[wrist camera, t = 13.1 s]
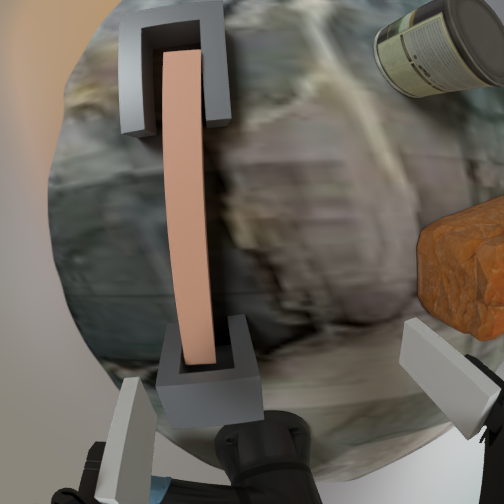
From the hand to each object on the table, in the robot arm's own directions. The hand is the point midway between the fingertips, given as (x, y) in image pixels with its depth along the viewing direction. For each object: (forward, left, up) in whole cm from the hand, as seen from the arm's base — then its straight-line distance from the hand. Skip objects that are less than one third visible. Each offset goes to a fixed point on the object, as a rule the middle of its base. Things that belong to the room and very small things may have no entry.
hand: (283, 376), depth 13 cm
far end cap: (-11, +5, -20) cm, 23 cm away
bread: (-4, -36, -20) cm, 42 cm away
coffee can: (+22, -22, -20) cm, 37 cm away
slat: (+5, +4, -20) cm, 21 cm away
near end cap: (+19, +5, -20) cm, 28 cm away
